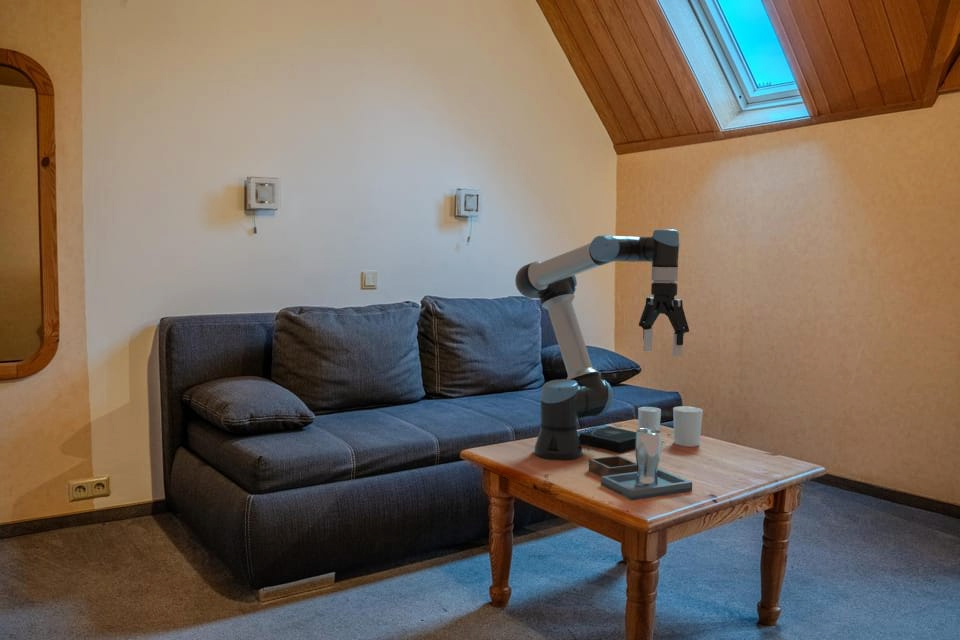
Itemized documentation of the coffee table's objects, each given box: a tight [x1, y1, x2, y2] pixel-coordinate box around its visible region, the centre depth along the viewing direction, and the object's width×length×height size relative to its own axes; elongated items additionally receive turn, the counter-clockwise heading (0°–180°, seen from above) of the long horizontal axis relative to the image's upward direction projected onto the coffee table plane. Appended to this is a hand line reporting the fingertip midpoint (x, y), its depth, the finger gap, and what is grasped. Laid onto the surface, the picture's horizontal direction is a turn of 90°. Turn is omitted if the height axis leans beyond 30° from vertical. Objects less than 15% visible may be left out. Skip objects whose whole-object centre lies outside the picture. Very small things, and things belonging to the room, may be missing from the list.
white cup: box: [637, 406, 662, 431], centre depth 263 cm, size 8×8×10 cm
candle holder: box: [672, 405, 704, 448], centre depth 254 cm, size 10×10×12 cm
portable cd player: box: [578, 426, 636, 454], centre depth 252 cm, size 16×17×4 cm
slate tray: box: [600, 468, 693, 501], centre depth 204 cm, size 14×20×2 cm
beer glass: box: [634, 428, 662, 487], centre depth 203 cm, size 7×7×15 cm
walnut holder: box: [588, 455, 637, 477], centre depth 218 cm, size 11×11×4 cm
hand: (662, 353), depth 222 cm, fingers open, 13 cm apart
